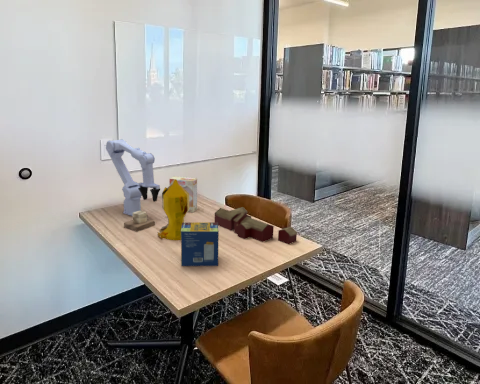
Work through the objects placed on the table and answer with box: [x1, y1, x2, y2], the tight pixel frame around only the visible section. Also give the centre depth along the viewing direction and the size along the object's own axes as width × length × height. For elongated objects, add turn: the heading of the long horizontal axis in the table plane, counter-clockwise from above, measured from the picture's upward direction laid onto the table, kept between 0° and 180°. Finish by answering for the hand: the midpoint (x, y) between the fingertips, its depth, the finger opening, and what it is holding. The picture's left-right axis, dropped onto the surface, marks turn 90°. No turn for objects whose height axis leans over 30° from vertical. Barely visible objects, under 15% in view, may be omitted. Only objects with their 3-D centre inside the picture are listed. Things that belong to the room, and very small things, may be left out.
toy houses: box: [213, 206, 298, 245], centre depth 187 cm, size 45×20×10 cm, turn 45°
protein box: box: [180, 221, 220, 267], centre depth 153 cm, size 10×15×16 cm
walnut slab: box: [123, 218, 156, 233], centre depth 192 cm, size 10×12×3 cm
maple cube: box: [132, 210, 148, 224], centre depth 191 cm, size 5×5×5 cm
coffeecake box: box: [169, 175, 198, 213], centre depth 218 cm, size 15×7×20 cm, turn 77°
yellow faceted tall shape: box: [157, 179, 189, 242], centre depth 179 cm, size 18×24×28 cm
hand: (150, 200), depth 201 cm, fingers open, 7 cm apart
